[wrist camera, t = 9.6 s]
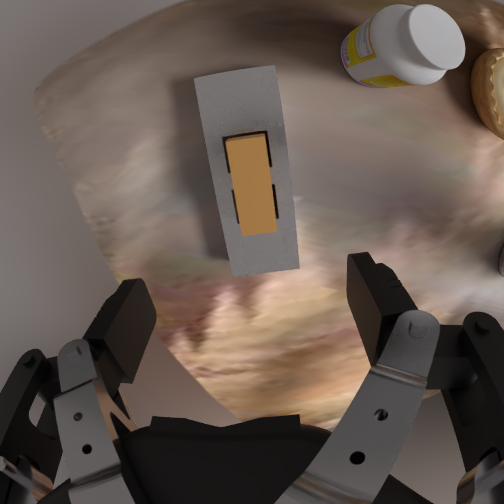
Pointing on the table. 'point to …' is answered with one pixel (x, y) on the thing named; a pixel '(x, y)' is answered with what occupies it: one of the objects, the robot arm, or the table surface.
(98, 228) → the table surface
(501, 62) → the pastry
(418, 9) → the supplement bottle
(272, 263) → the rail
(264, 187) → the ochre wooden block
